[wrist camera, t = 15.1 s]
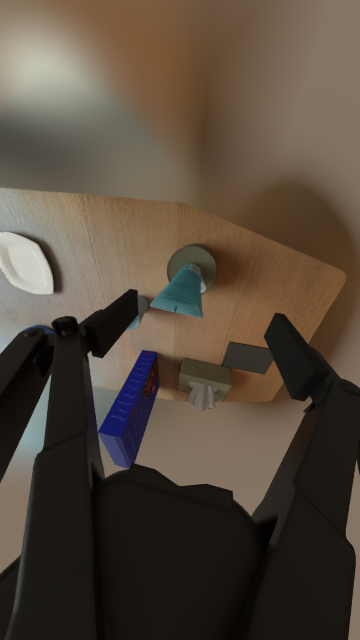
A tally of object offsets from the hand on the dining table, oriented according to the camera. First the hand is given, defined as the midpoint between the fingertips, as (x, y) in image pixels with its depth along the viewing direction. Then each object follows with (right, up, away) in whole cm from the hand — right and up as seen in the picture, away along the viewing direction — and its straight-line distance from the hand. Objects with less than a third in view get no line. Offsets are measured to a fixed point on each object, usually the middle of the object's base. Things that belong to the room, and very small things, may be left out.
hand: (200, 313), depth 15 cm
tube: (+1, +10, +22) cm, 25 cm away
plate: (-52, +18, +37) cm, 66 cm away
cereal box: (-15, -22, +54) cm, 60 cm away
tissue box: (+8, -21, +49) cm, 54 cm away
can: (+2, +14, +28) cm, 32 cm away
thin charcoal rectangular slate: (+22, -15, +41) cm, 49 cm away
